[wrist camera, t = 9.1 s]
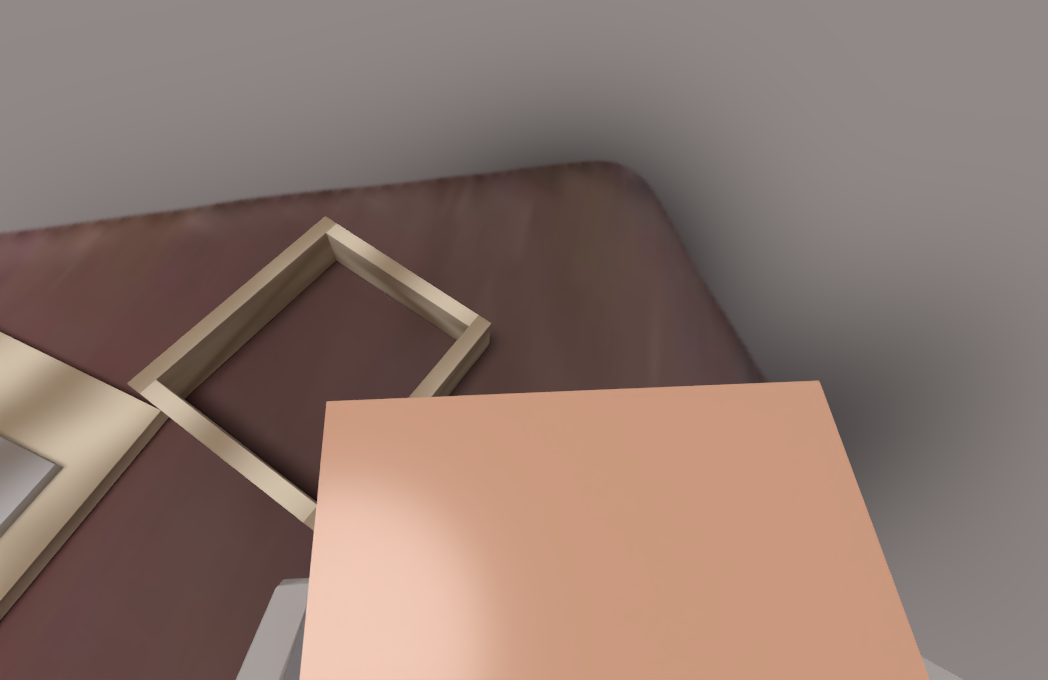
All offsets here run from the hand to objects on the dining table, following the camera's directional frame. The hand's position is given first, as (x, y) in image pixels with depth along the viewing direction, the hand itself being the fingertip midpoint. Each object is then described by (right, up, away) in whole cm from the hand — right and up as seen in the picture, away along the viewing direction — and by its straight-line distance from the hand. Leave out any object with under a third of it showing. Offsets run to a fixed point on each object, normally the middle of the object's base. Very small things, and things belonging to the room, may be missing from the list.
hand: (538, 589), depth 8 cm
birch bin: (-10, +2, +18) cm, 20 cm away
